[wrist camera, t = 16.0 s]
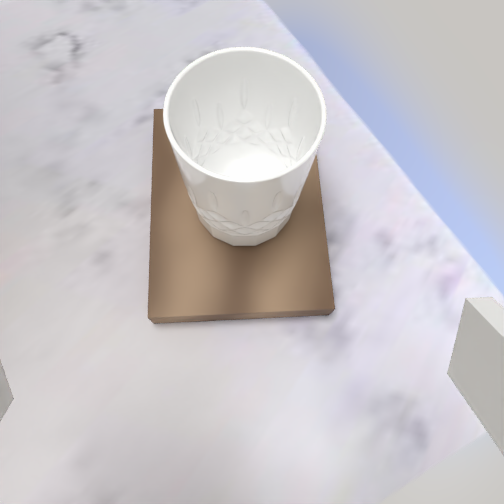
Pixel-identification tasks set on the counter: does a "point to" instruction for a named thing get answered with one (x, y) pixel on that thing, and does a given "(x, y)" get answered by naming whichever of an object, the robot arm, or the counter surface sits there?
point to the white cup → (244, 139)
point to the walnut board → (231, 256)
